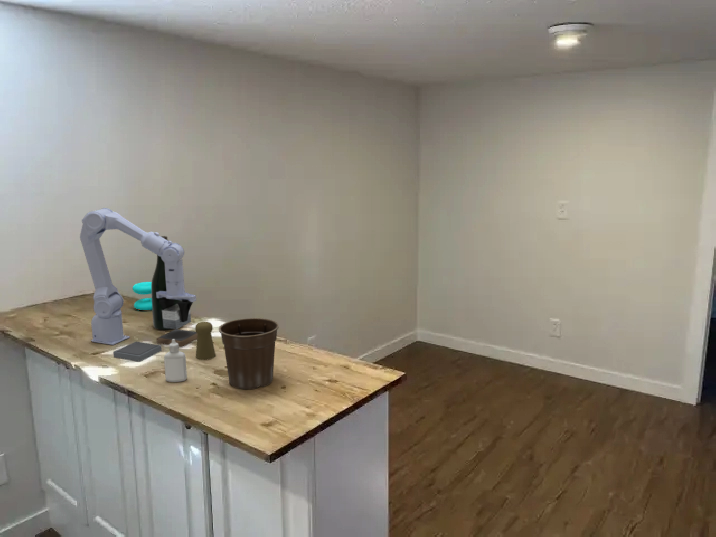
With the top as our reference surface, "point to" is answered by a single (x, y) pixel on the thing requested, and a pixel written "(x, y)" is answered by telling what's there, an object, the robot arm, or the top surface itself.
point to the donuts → (143, 289)
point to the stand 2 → (178, 337)
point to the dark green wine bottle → (157, 286)
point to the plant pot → (249, 351)
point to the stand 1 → (137, 351)
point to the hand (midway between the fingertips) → (177, 320)
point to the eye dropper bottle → (175, 364)
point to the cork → (204, 341)
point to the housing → (174, 317)
